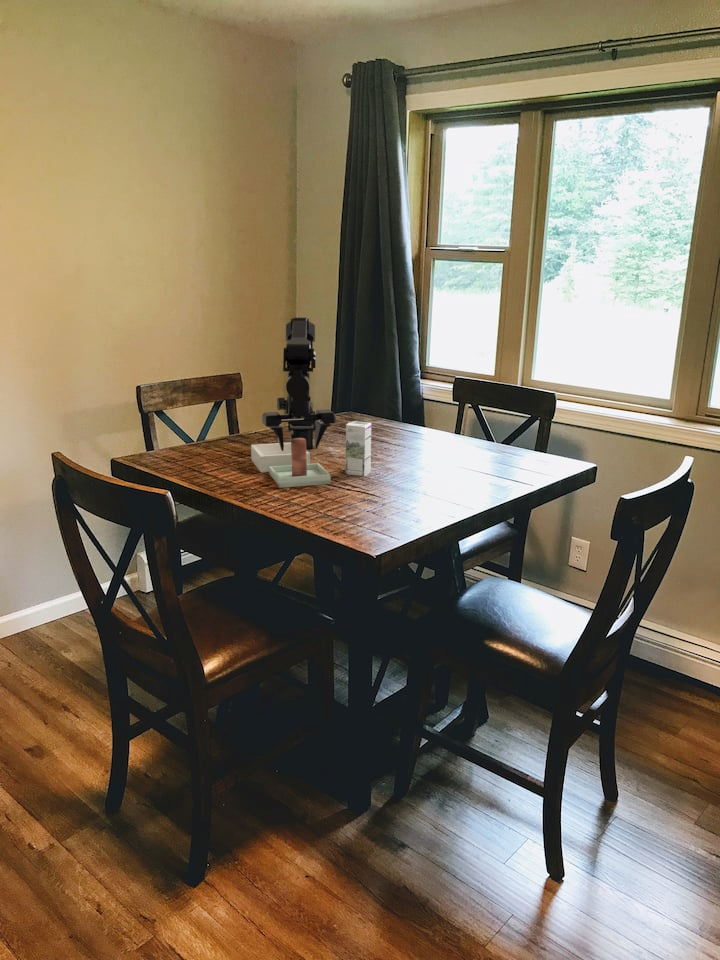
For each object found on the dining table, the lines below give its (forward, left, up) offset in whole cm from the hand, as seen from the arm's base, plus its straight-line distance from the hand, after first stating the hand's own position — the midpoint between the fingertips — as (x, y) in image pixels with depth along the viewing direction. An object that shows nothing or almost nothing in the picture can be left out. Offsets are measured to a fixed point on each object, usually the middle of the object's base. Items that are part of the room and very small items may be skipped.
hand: (299, 449), depth 203 cm
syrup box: (-17, -1, -9) cm, 19 cm away
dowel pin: (0, 0, -7) cm, 7 cm away
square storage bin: (+2, -15, -8) cm, 17 cm away
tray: (0, 0, -8) cm, 8 cm away
